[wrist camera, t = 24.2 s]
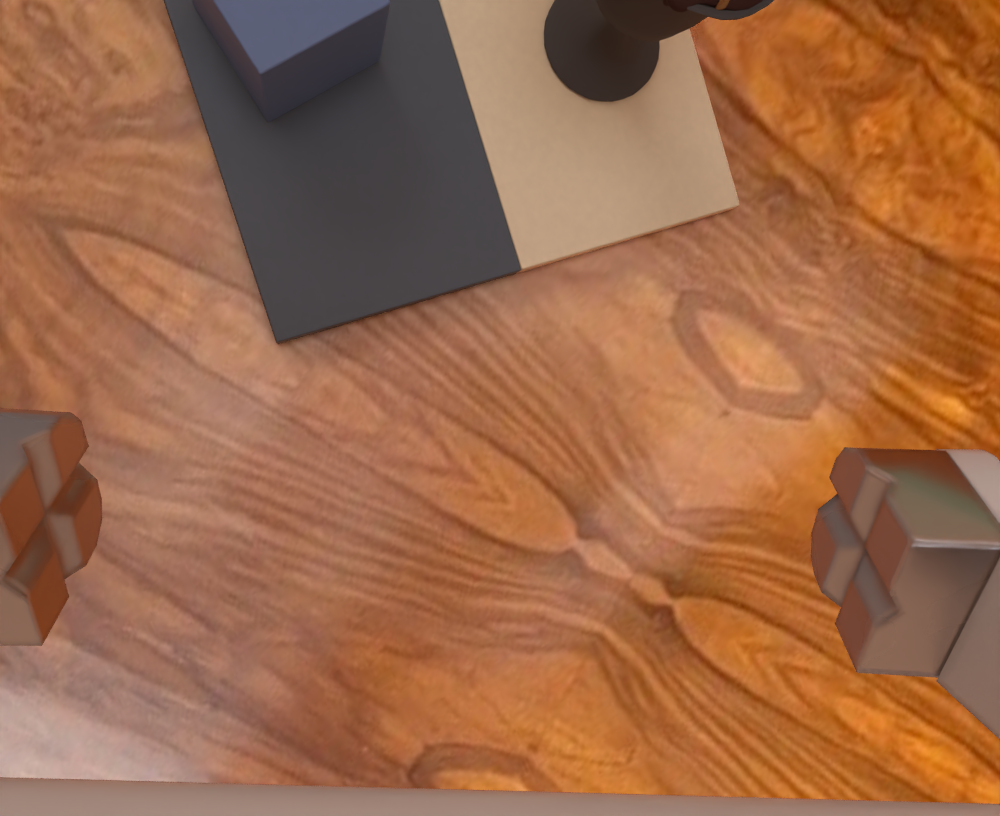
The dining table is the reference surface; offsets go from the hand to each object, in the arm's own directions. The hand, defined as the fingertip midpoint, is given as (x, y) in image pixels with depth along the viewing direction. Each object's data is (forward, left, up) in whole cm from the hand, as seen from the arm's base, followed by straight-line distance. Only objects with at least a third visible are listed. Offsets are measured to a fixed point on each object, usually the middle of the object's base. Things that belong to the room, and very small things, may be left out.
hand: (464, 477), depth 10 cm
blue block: (-15, +2, -25) cm, 29 cm away
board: (-12, +8, -26) cm, 29 cm away
